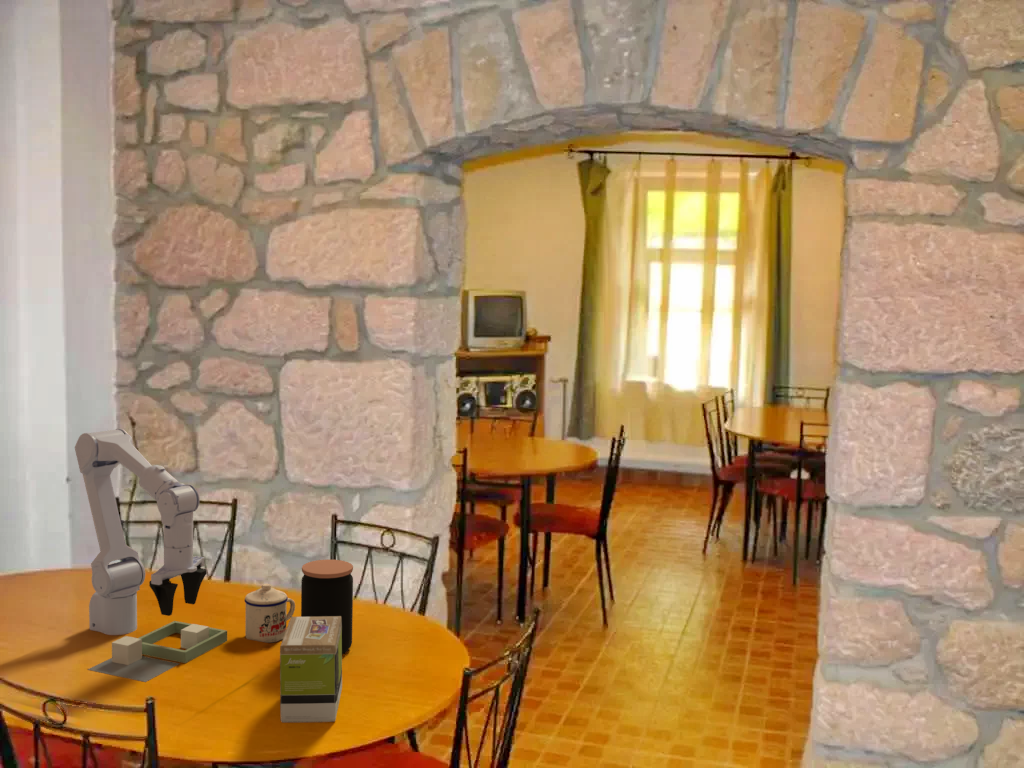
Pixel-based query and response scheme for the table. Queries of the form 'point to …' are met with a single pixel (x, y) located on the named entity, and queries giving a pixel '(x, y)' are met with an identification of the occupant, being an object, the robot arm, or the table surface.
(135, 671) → the slate board
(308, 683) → the tea box
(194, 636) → the stone cube far
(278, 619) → the teacup with lid
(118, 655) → the stone cube near
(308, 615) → the coffee jar
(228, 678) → the table surface
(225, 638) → the olive dish
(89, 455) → the robot arm
